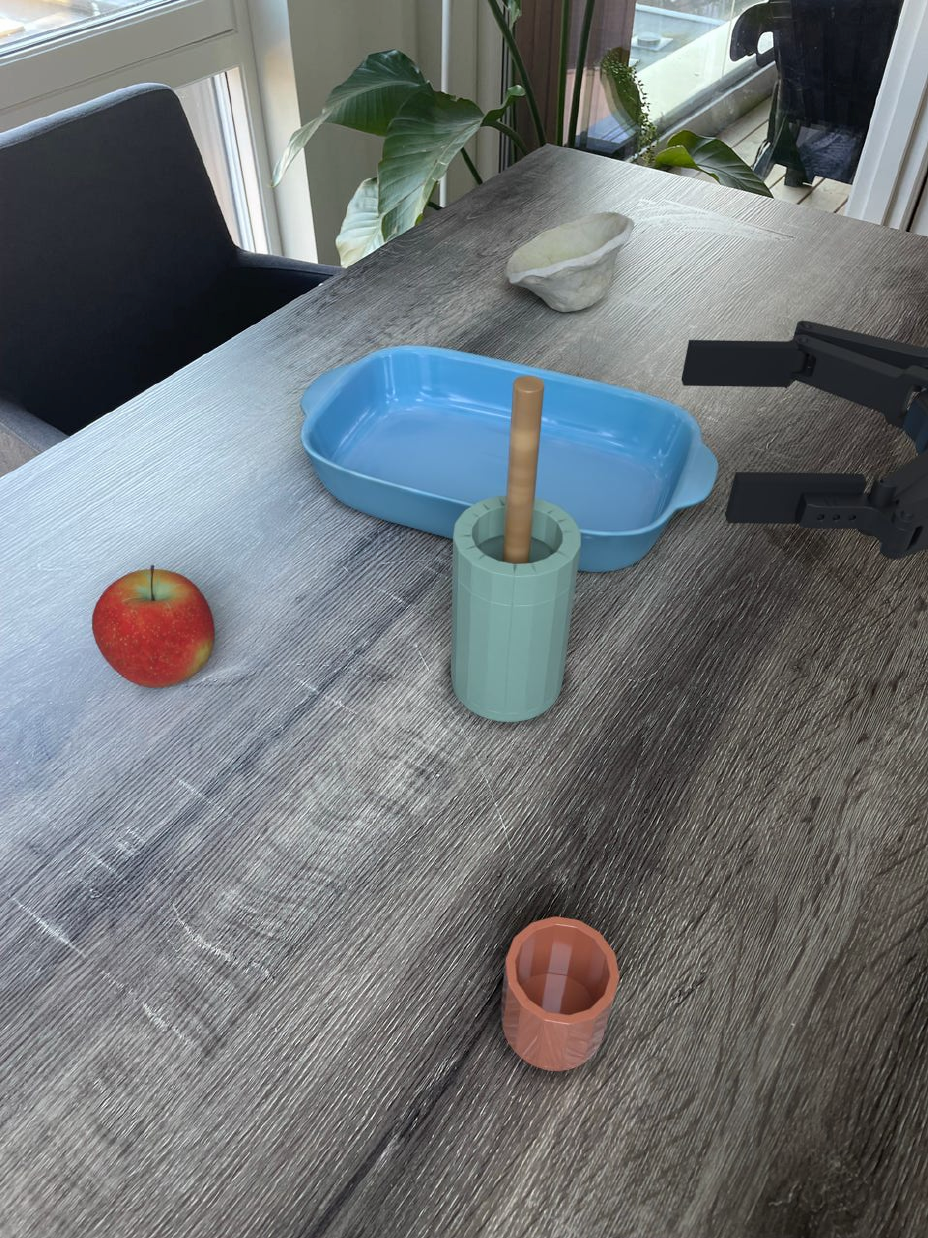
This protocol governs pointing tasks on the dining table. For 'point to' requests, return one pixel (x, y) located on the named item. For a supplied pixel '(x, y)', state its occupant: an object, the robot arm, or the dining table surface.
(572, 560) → the green cylindrical holder
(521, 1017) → the cup
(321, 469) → the casserole dish
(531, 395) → the tan long rod
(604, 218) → the bowl
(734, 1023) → the dining table surface
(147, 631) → the apple
